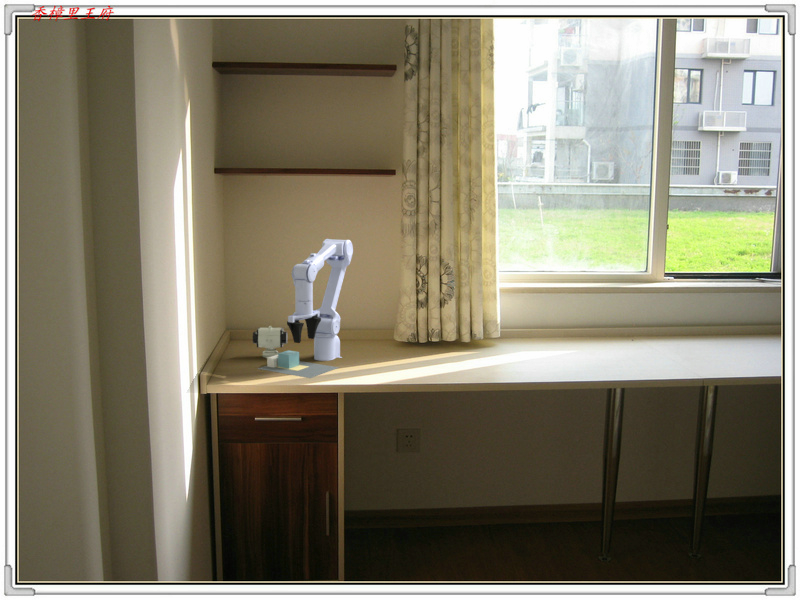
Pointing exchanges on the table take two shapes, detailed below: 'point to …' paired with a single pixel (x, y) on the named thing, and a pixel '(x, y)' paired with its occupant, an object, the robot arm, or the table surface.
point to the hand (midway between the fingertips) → (304, 340)
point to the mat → (302, 369)
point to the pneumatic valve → (270, 339)
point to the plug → (288, 359)
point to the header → (272, 361)
